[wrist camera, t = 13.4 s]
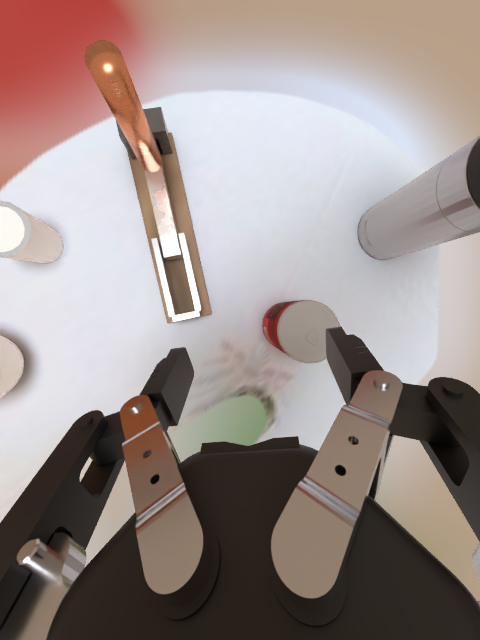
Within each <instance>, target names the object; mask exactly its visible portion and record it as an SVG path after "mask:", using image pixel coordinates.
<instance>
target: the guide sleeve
mask: <svg viewBox="0 0 480 640" xmlns="http://www.w3.org/2000/svg"><path fill="white" fill-rule="evenodd" d="M178 235H179V239H180V244H181V248H182V253H183V257H184V262H185V266H186V271H187V275H188V280H189V284H190V288H191V293H192V297H193V302H194V306H195V311H194V312H189V313H185V314H180V315H179V313H178V309H177V305H176V300H175V296H174V292H173V287H172V283H171V279H170V274H169V270H168V265H167V261H166V259H165V258H164V255H163V250H162V246H161V242H160V241H159V240H158V239H157V238H153V239H151V240H152V245H153V249H154V253H155V258H156V262H157V266H158V271H159V275H160V279H161V284H162V288H163V292H164V297H165V301H166V305H167V309H168V314H169V317H171V316H172V318H173V322H174V321H179V320H183V319H188V318H193V317H197V316H201V312H200V310H203V309H202V304H201V300H200V295H199V291H198V286H197V282H196V277H195V273H194V268H193V264H192V259H191V255H190V250H189V246H188V241H187V238H186V236H185V234H184V233H180V234H178Z"/></svg>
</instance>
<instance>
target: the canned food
mask: <svg viewBox="0 0 480 640" xmlns="http://www.w3.org/2000/svg"><path fill="white" fill-rule="evenodd" d="M334 327H339V323H338V320H337V318H336V316H335V314H334V313H333V312H332V311H331V310H330V309H329V308H328V307H327V306H326V305H324V304H322V303H320V302H316V301H312V300H301V301H292V302H284V303H279V304H276V305H274V306H272V307H271V308H270V309H269V310H268V311H267V313H266V314H265V316H264V320H263V331H264V334H265V336H266V338H267V340H268V341H269V342H270V343H271V344H272V345H274V346H275V347H277V348H278V349H280V350H281V351H282V352H284V353H285V354H287V355H288V356H290V357H291V358H293V359H295V360H297V361H300V362H304V363H317V362H320V361H323V360H324V359H326V358H327V355H326V329H327V328H334Z"/></svg>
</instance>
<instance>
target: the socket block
mask: <svg viewBox="0 0 480 640" xmlns="http://www.w3.org/2000/svg"><path fill="white" fill-rule="evenodd" d="M143 111H144V114H145V116H146V119H147V122H148V124H149V127H150V129H151V132H152V135H153V137H154V139H157V142H158V146H159V150H160V155H166V154H172V153H173V152H172V148H171V143H170V138H169V134H168V130H167V127H166V123H165V120H164V117H163V113H162V110H161V107H157V108H150V109H143ZM116 123H117V127H118V131H119V136H120V138H121V140H122V142H123V144H124V145H125V147H126V149H127V150H128V152H129V154H130V156H131V157H132V159H133V160H134V159H137V157H136V155H135V153H134V151H133V150H132V148H131V146H130V144H129V142H128V141H127V139H126V137H125V135H124V133H123V131H122V130H121V128H120V126H119V124H118V122H117V120H116Z"/></svg>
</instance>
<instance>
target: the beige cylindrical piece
mask: <svg viewBox="0 0 480 640" xmlns="http://www.w3.org/2000/svg"><path fill="white" fill-rule="evenodd" d="M62 251H63V242H62V238H61V236H60V235H59V234H58V233H57V231H55V230H54V229H52V228H51V227H49V226H47V225H46V224H44V223H43V222H41V221H39V220H38V219H36V218H35V217H33V216H31V215H30V214H28V213H27V212H25V211H23V210H22V209H20V208H19V207H17V206H15V205H13V204H11V203H10V202H4V201H0V257H3V258H10V259H17V260H24V261H31V262H38V263H45V264H46V263H50V262H53V261H55V260H56V259H58V258H59V257H60V255H61V253H62Z"/></svg>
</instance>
